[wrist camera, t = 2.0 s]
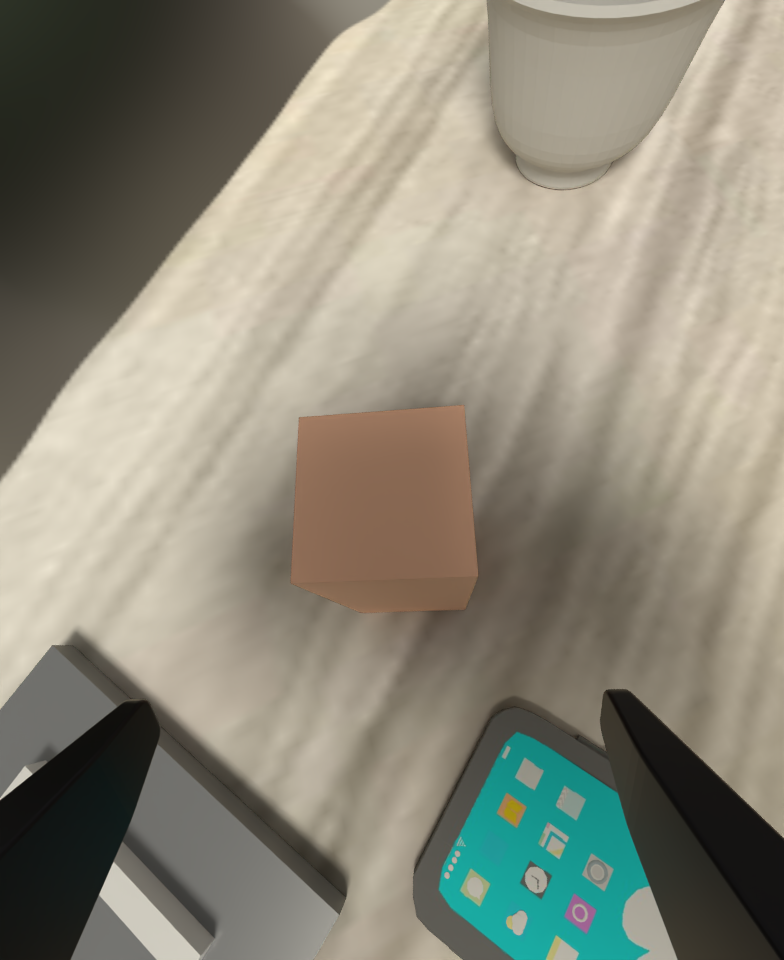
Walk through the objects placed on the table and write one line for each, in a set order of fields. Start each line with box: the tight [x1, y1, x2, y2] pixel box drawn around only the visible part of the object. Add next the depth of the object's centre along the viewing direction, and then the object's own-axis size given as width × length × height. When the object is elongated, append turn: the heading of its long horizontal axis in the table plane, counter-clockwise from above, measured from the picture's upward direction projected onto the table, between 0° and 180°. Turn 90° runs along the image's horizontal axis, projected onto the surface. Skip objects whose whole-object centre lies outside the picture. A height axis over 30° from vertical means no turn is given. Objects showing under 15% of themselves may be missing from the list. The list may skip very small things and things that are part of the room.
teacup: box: [487, 0, 725, 190], centre depth 24 cm, size 12×15×10 cm
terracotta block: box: [291, 405, 478, 613], centre depth 17 cm, size 5×5×10 cm
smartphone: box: [413, 707, 677, 960], centre depth 16 cm, size 9×1×15 cm
